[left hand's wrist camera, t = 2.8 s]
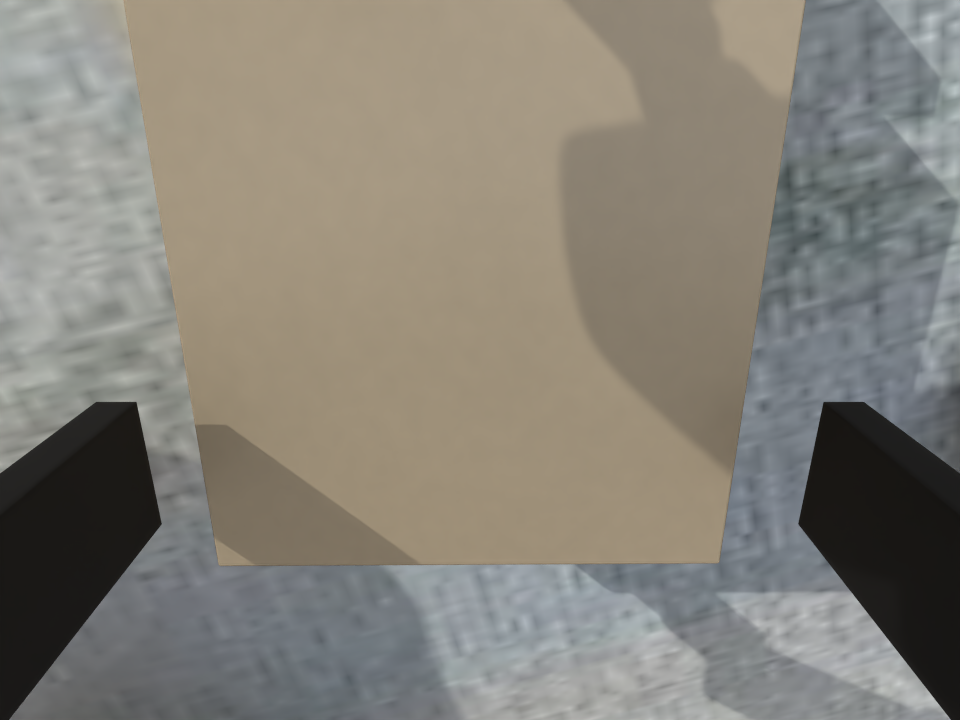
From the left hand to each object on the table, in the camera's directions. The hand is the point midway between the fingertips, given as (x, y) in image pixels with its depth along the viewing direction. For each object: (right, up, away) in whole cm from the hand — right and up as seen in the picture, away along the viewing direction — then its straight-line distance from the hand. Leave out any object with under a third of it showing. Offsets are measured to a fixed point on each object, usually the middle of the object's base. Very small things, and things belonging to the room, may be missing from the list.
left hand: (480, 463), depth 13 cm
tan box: (0, +9, +10) cm, 14 cm away
